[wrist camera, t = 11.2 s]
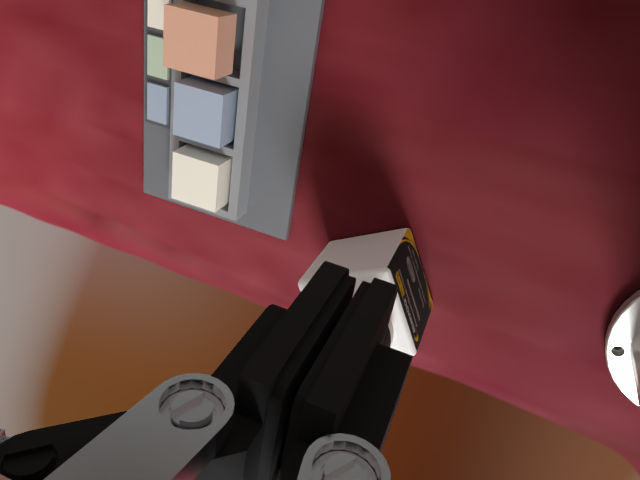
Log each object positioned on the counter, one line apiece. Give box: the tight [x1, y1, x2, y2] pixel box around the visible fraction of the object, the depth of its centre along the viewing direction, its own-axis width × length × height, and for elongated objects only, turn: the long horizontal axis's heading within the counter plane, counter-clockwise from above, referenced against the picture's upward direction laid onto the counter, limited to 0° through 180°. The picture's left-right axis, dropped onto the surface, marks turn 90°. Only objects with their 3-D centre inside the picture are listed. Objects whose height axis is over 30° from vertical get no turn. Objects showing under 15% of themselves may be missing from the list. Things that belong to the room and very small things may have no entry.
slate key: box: [173, 76, 239, 149], centre depth 42 cm, size 4×4×2 cm
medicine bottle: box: [298, 228, 433, 356], centre depth 41 cm, size 7×7×12 cm
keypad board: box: [144, 0, 325, 240], centre depth 42 cm, size 14×25×2 cm, turn 171°
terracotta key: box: [163, 1, 237, 80], centre depth 38 cm, size 4×4×2 cm
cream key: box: [171, 144, 233, 212], centre depth 45 cm, size 4×4×2 cm
